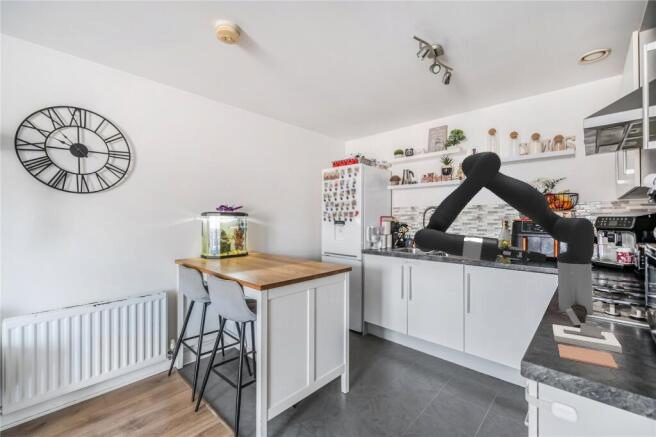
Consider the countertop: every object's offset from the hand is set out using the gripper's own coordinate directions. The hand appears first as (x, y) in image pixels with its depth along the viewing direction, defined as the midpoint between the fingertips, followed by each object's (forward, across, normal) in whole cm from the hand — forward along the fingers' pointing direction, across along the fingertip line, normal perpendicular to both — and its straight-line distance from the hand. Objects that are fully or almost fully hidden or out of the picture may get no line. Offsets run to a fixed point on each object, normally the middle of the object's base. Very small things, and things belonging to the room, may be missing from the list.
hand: (542, 257), depth 83 cm
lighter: (+12, +1, +21) cm, 24 cm away
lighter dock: (+11, +1, +21) cm, 24 cm away
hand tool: (+15, +16, +20) cm, 30 cm away
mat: (+9, -11, +22) cm, 26 cm away
